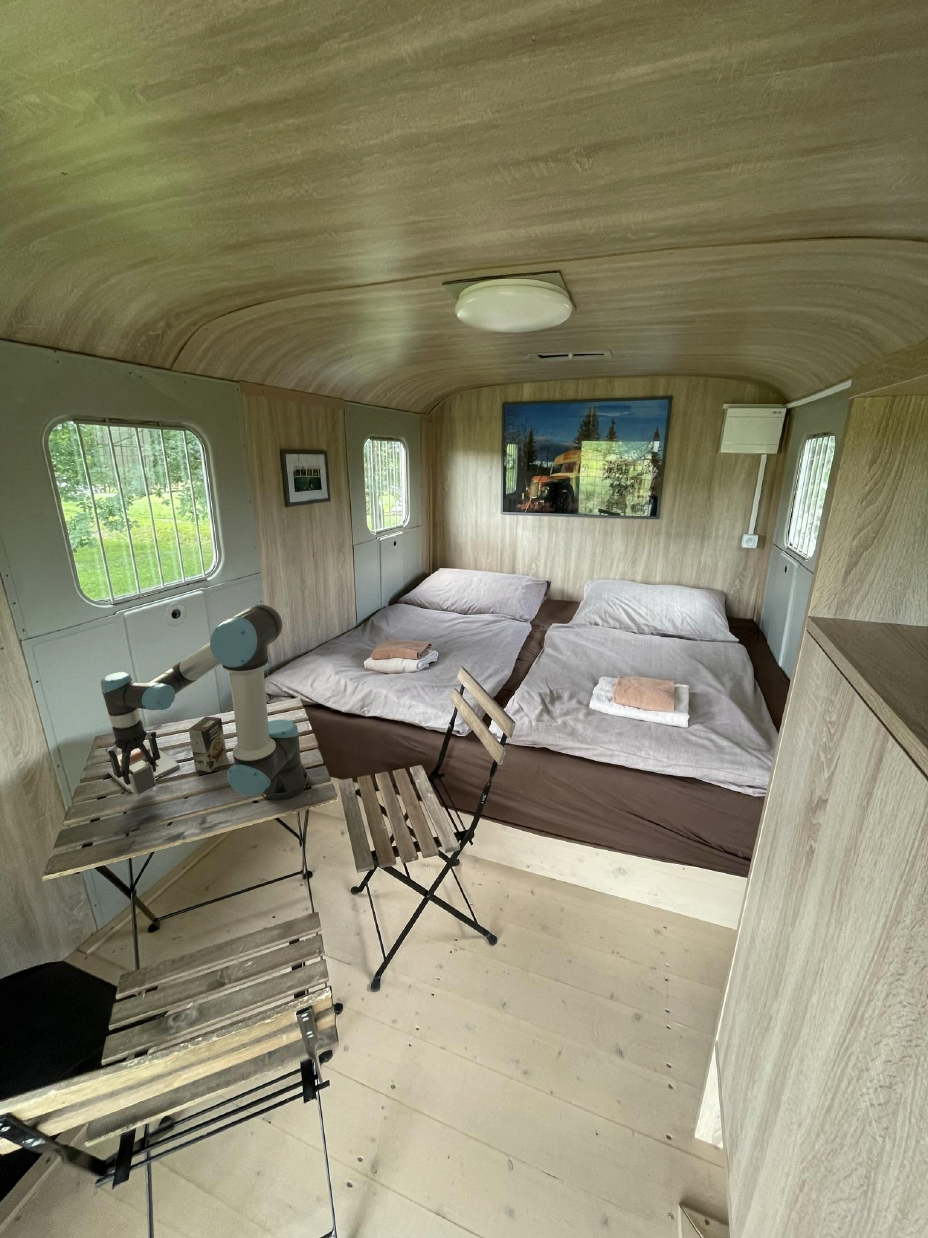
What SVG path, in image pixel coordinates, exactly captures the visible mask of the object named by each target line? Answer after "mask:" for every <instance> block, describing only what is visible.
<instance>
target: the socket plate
mask: <svg viewBox="0 0 928 1238" xmlns="http://www.w3.org/2000/svg"><path fill="white" fill-rule="evenodd" d="M158 750H159V753H160V759H159V760H156V761H155V762H156V764H155V766H156V772H154V776H155V778H157V777H160V776H161V775H164V774H166V775H168V774H170V773H172V772H175V771H176V770H178V769H181V765H180V764H179V763H178V762H177V761H175V760H174V759H173V758H171V756H168V755H167V754H165V753H164V752H163V751H162V750H160V749H159V748H158ZM150 753H151V756H153V755H152V751H151V749H150ZM140 761H141V760H140ZM143 761H144V762H146V763H147V762H148V761H147V760H146V758H145V759H143ZM138 762H139V761H138ZM136 763H137V762H136ZM134 764H135V763H134ZM120 769H121V766H120ZM107 772H108V773H109V774H110V775H111V776H112V777H113V778H112V777H111V776H110V775H109V774H108V773H107ZM169 772H170V773H169ZM106 773H107V774H108V775H109V776H110V777H111V778H112V779H113V780H115V782H117V783H118V784H119V783H120V784H121V785H122V786H121V785H120V784H119V785H120V786H121V787H123V788H124V787H125V788H124V789H125V790H126V791H127V792H128V793H131V792H132V791H131V790H130V788H129V785H126V784H125V783H124V780H123V777H121V778H118V777H116V776H115V775H114V772H113V768H112V766H111V767H109V768H107V769H106ZM167 773H168V774H167ZM164 776H165V775H164ZM160 778H161V777H160Z"/></svg>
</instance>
